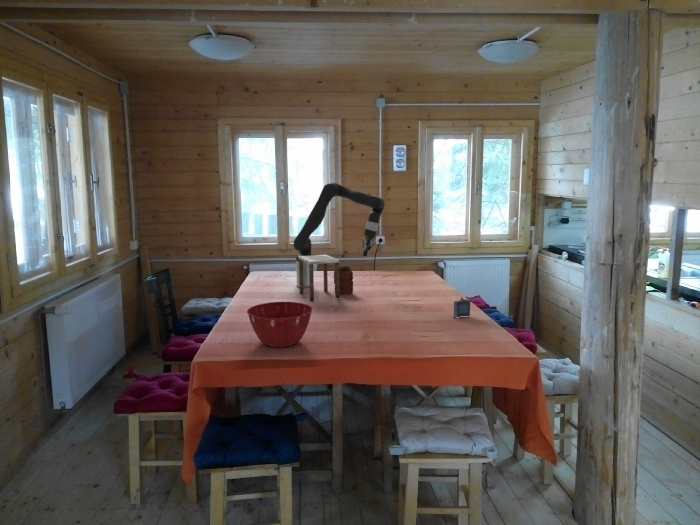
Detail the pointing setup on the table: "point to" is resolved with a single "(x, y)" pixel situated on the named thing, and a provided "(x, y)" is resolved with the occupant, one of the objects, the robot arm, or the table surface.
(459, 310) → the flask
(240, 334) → the table surface
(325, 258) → the stand
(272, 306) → the mixing bowl
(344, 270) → the wooden figurine
